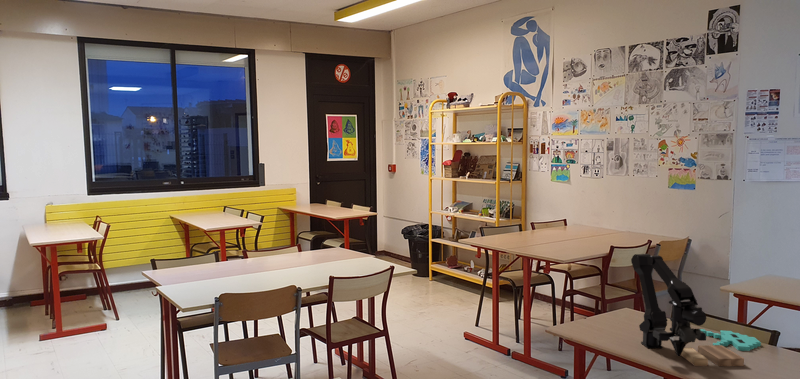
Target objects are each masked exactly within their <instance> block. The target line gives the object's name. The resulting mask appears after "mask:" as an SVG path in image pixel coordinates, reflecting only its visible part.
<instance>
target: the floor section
mask: <svg viewBox="0 0 800 379" xmlns="http://www.w3.org/2000/svg"><path fill="white" fill-rule="evenodd" d="M697 352H699V353H700V354H701V355H703V356H704V357H706V358H707V359H708V361H710V362H711V363H713V364H715V365H716V366H717V367H744V366H745V358H744V357H742V356H741V355H739V354H737V353H736V352H734V351H732V350H730V349H729V348H727V347H726V346H722V345H713V344H710V345H708V344H707V345H706V344H705V345H704V344H703V345H702V344H701V345H697Z"/></svg>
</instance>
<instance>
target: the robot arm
mask: <svg viewBox="0 0 800 379" xmlns="http://www.w3.org/2000/svg"><path fill="white" fill-rule="evenodd" d="M630 262H631V264H632V268H633V270H634V272H636V273H637V275H638V277H639V281H640V285H641V291H642V294H643V295H642V296H643V301H644V304H645V312H644V314H643V321H642V322H641V323H640V324H638V325H639V326H638V327H639V330H640V332H642V341H640V343H641V344H642V345H643V346H644V347H646V348H648V349H662V348H663V345H662V344H663V342H668V341H670V343H671V344H672V346H673V349H674V350H673V351H674V353H675V355H676V356H677V357H681V353H682V351H683V349H684V348H686V347H687V346H686V345H687V344H689V343H690V344H691V343H695V342H696V340H698V341H702V342H703V341H706V340H707V335H706V334H705V333H704V332H702V331H701V330H700V329H701V328H692V326H691V324H693V325H696V326H699V327H700V326H703V325H704V324H705V322H707V315H706V313H705V311H703V307H701V306H699V305H698V301H697V299H696V297H695V294H694V293H693V289H692V288H691V287H690V286H689V285H688V284H687V283H686V282H684V281H682V280H681V279H679V278H678V277H677V276H676V274H674V272H673V271H672V270H671V268H670V267H669V266H668V265H667V264H666V262H665V261H664V258H663V256H661V255H651V254H649V253H639V254H638V253H637V254H635V253H634V254H633V255H632V258H631V260H630ZM653 270H654V271H655V272H656V273H657V275H658V276H659V278H661V280H662V282H664V283H665V285H666V287H667V288H666V289H667V293H668V295H669V297H670V298H671V300H669V301H668V304H670V305H672V308H671V309H672V310H671V311H672V312H671V313H672V315H671V317H670V318H669V321H670V322H671V327H670V328H669V331H666V327H667V326H668V318H667V313H666V311H665V310H662V309H661V308H660V307H659V301H658V297H657V292H656V288H655V284H654V279H653V275H652V272H653Z"/></svg>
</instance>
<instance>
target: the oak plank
mask: <svg viewBox="0 0 800 379" xmlns="http://www.w3.org/2000/svg"><path fill="white" fill-rule="evenodd" d="M680 357H683V358H684V359H685V360H687V361H688V362H689V363H690V364H691V365H693V366H694V367H695V366H702V367H705V366H706V367H708V364H709V360H708V359H707V358H706V357H704V356H703V355H701V354H700V353H699V352H698V350H696V349H694V348H693V347H684V349H683V351H682V353H681V355H680Z"/></svg>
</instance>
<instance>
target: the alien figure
mask: <svg viewBox="0 0 800 379" xmlns="http://www.w3.org/2000/svg"><path fill="white" fill-rule="evenodd" d="M699 329H700V330H701V331H702V332H704V333H705V334H706V337H709V336H713V337H712V338H713V339H715V338H719V339H718V340H717V341H716V342H712V345H722V346H724V347H729V345H730V344H731V346H733V348H735V349H736V350H737V351H741V352H742V351H744V352H751V350H752V349H758V347H760V346H761V347H762V342H761V341H760V340H758V339H757V338H756V337H755V336H749V335H748V334H741V333H739V332H733V331H732V330H719V331H720V333H717V332H713V331H710V330H706V329H705V328H703V329H702V328H699ZM719 340H720V341H719Z"/></svg>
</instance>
